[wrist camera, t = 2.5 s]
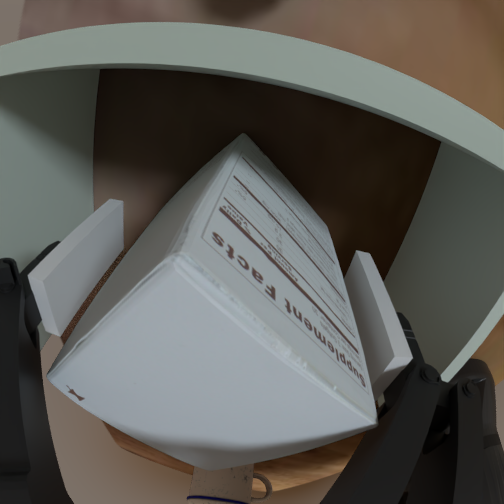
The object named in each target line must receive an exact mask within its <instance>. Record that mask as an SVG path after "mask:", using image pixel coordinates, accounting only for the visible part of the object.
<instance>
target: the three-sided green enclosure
mask: <svg viewBox="0 0 504 504" xmlns="http://www.w3.org/2000/svg"><path fill="white" fill-rule="evenodd" d="M111 68H130V69H159V70H174V71H186V72H196V73H205V74H213V75H220V76H227V77H234V78H240V79H246V80H251V81H257V82H262V83H267V84H272V85H276V86H281V87H285V88H290V89H294V90H298V91H302V92H306V93H310V94H314V95H317V96H321V97H324V98H328V99H331V100H335V101H338V102H341V103H344V104H348V105H351V106H354V107H357V108H360V109H363V110H366V111H369V112H371V113H374V114H377V115H380V116H382V117H385V118H388V119H390V120H393V121H395V122H398V123H400V124H403V125H405V126H408V127H410V128H413V129H415V130H417V131H419V132H422V133H424V134H426V135H428V136H431V137H433V138H435V139H437V140H439V141H441V144H440V148H439V151H438V154H437V157H436V160H435V162H434V165H433V168H432V171H431V174H430V177H429V179H428V182H427V185H426V187H425V190H424V193H423V195H422V198H421V200H420V203H419V205H418V208H417V210H416V213H415V215H414V217H413V220H412V222H411V224H410V227H409V229H408V231H407V234H406V236H405V238H404V240H403V242H402V245H401V247H400V249H399V251H398V253H397V255H396V257H395V260H394V262H393V264H392V266H391V268H390V270H389V272H388V274H387V276H386V278H385V280H384V282H383V283H384V286H385V288H386V290H387V293H388V295H389V297H390V300H391V302H392V305H393V307H394V309H395V312H401V313H402V314H403V315H404V316H405V317H406V319H407V320H408V321H409V323H410V325H411V328H412V332H413V333H414V335H415V339H416V340H417V343H418V345H419V348H420V350H421V353H422V356H423V358H424V361H425V363H426V364H429V365H431V366H433V367H434V368H435V369H436V370H437V371H438V372H439V374H440V376H441V379H442V381H445V382H449V381H450V380H451V379H452V378H453V376H454V375H455V374H456V373H457V372H458V371H459V370H460V369H461V368H462V366H463V365H464V364H465V363H466V362H467V361H468V359H469V358H470V357H471V356H472V355H473V353H474V352H475V351H476V350H477V349H478V347H479V346H480V345H481V344H482V342H483V341H484V340H485V338H486V337H487V336H488V334H489V333H490V332H491V330H492V329H493V328H494V326H495V325H496V324H497V322H498V321H499V319H500V318H501V316H502V315H503V314H504V130H503V129H501V128H500V127H498V126H497V125H496V124H494V123H493V122H491V121H490V120H488V119H487V118H485V117H483V116H482V115H480V114H479V113H477V112H476V111H474V110H472V109H471V108H469V107H467V106H466V105H464V104H462V103H460V102H459V101H457V100H455V99H453V98H452V97H450V96H448V95H446V94H444V93H442V92H440V91H439V90H437V89H435V88H433V87H431V86H429V85H427V84H425V83H423V82H420V81H418V80H416V79H414V78H412V77H410V76H407V75H405V74H403V73H401V72H398V71H396V70H394V69H391V68H389V67H386V66H384V65H381V64H379V63H376V62H373V61H371V60H368V59H365V58H362V57H360V56H357V55H354V54H351V53H348V52H345V51H341V50H338V49H335V48H332V47H328V46H325V45H321V44H318V43H314V42H310V41H306V40H302V39H298V38H293V37H289V36H284V35H280V34H275V33H269V32H264V31H258V30H252V29H245V28H238V27H230V26H221V25H211V24H198V23H177V22H142V23H121V24H109V25H99V26H90V27H83V28H76V29H70V30H64V31H58V32H53V33H48V34H44V35H39V36H35V37H31V38H27V39H23V40H19V41H16V42H12V43H9V44H6V45H2V46H0V259H1V258H12V259H14V260H15V261H16V263H17V267H18V270H19V274H20V273H21V272H22V270H23V269H24V268H25V267H26V266H27V265H28V264H29V263H30V262H31V261H32V260H33V259H35V258H36V257H37V256H38V255H39V254H41V252H42V251H43V250H44V249H45V248H46V247H47V246H48V245H50V244H52V243H54V242H56V241H61V242H62V241H63V240H64V239H65V238H66V237H67V236H68V235H69V234H70V233H71V232H72V231H73V230H75V229H76V228H77V227H78V226H79V225H80V224H81V223H82V222H84V221H85V220H86V219H87V218H88V217H89V216H90V215H92V214H93V213H94V202H93V146H94V125H95V111H96V100H97V91H98V82H99V74H100V69H111ZM37 327H38V330H39V337H40V351H41V350H42V348H43V347H44V345H45V343H46V342H47V340H48V339H49V337H50V336H51V334H52V333H49V332H47V331H45V328H44V325H43V323H42V321H41V322H40V324H39V325H38V326H37ZM377 400H378V405H379V407H380V406H381V405H382V404H383V403H384V402H385V400H384V395H383V394H382V395H381V396H380V397H379V398H378V399H377Z"/></svg>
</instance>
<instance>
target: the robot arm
mask: <svg viewBox="0 0 504 504" xmlns="http://www.w3.org/2000/svg"><path fill="white" fill-rule="evenodd" d="M123 249H124V235H123V201H119V200H114V199H109V200H108V201H107V202H106V203H104V204H103V205H102V206H101V207H100V208H99V209H97V210H96V211H95V212H94V213H93V214H92V215H90V216H89V217H88V218H87V219H86V220H85V221H84V222H82V223H81V224H80V225H79V226H78V227H77V228H76V229H75V230H73V231H72V232H71V233H70V234H69V235H68V236H67V237H66V238H65V239H64V240H63V241H62V242H61V241H56V242H54V243H52V244H50V245H48V246H47V247H46V248H45V249H44V250H43V251H42V252H41V254H39V255H38V256H37V257H36V258H35V259H33V260H32V261H31V262H30V263H29V264H28V265H27V266H26V267H25V268H24V269H23V270H22V272H21V273H20V274H19V270H18V267H17V263H16V261H15V260H14V259H12V258H1V259H0V504H74V503H73V501H72V500H71V498H70V497H69V495H68V493H67V491H66V489H65V486H64V482H63V479H62V476H61V472H60V469H59V465H58V461H57V457H56V453H55V449H54V445H53V441H52V437H51V431H50V426H49V421H48V415H47V409H46V402H45V396H44V388H43V379H42V369H41V357H40V337H39V330H38V327H37V326H38V325H39V324H40V322H41V321H42V323H43V325H44V328H45V331H47V332H49V333H52V334H54V335H57V336H59V337H61V335H62V333H63V332H64V330H65V329H66V327H67V326H68V324H69V323H70V321H71V320H72V318H73V317H74V315H75V314H76V313H77V311H78V310H79V308H80V307H81V305H82V304H83V302H84V301H85V300H86V298H87V297H88V295H89V294H90V293H91V291H92V290H93V289H94V287H95V286H96V284H97V283H98V282H99V280H100V279H101V278H102V276H103V275H104V274H105V272H106V271H107V270H108V268H109V267H110V266H111V264H112V263H113V262H114V261H115V259H116V258H117V257H118V255H119V254H120V253H121V252H122V250H123ZM344 283H345V286H346V290H347V293H348V297H349V301H350V305H351V308H352V312H353V315H354V318H355V322H356V326H357V329H358V333H359V337H360V341H361V345H362V349H363V352H364V356H365V361H366V366H367V370H368V374H369V378H370V383H371V388H372V392H373V397H374V401H376V400H377V399H378V398H379V397H380V396H381V395H382V394H383V395H384V400H385V402H384V403H383V404H382V405H381V406H380V407H378V408H377V410H376V412H377V417H378V423H379V425H378V426H377V427H375V428H373V429H370V430H367V432H366V434H365V435H364V437H363V439H362V441H361V442H360V444H359V446H358V447H357V449H356V451H355V452H354V454H353V455H352V457H351V459H350V460H349V462H348V463H347V465H346V467H345V468H344V470H343V471H342V473H341V474H340V476H339V477H338V479H337V480H336V481H335V483H334V484H333V486H332V487H331V489H330V490H329V491H328V493H327V494H326V496H325V497H324V498H323V500H322V501H321V502H320V504H504V451H503V448H502V445H501V442H500V438H499V435H498V432H497V428H496V399H495V385H494V379H493V377H492V374H491V372H490V370H489V368H488V366H487V364H486V363H485V362H483V361H481V360H478V359H468V361H467V362H466V363H465V364H464V365H463V366H462V368H461V369H460V370H459V371H458V372H457V373H456V374H455V375H454V376H453V378H452V379H451V380H450V381H449V382H445V381H442V379H441V376H440V374H439V372H438V371H437V370H436V369H435V368H434V367H433V366H431V365H429V364H426V363H425V361H424V358H423V356H422V353H421V350H420V348H419V345H418V343H417V340H416V339H415V335H414V333H413V332H412V328H411V325H410V323H409V321H408V320H407V319H406V317H405V316H404V315H403V314H402V313H401V312H395V309H394V307H393V305H392V302H391V300H390V297H389V295H388V293H387V290H386V288H385V286H384V283H383V281H382V279H381V277H380V274H379V272H378V270H377V268H376V265H375V263H374V261H373V259H372V257H371V255H370V253H366V252H362V251H357V250H356V252H355V255H354V257H353V259H352V262H351V264H350V266H349V269H348V271H347V273H346V276H345V278H344Z"/></svg>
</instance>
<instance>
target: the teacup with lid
mask: <svg viewBox="0 0 504 504" xmlns="http://www.w3.org/2000/svg"><path fill="white" fill-rule="evenodd" d="M253 470H254V463H253V464H248V465H242V466H237V467H231V468H225V469H219V470H213V471H208V470H204V469H201V468H199V467H196V466H194V472H193V477H192V482H191V487H190V493H189V496H188V497H187V502H188V503H189V504H250V503H251V502H264V501H266V500H268V499H269V498H270V497H271V494H272V485H271V483H270V481H269V480H268V479H267V478H266V477H265V476H263V475H261V474H258V473H253ZM253 478H257V479H260V480H261V481H262V482H263V483H264V484H265V486H266V490H267V492H266V495H265V497H263V498H252V497H251V491H252V481H253Z"/></svg>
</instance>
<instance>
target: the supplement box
mask: <svg viewBox="0 0 504 504" xmlns="http://www.w3.org/2000/svg"><path fill="white" fill-rule="evenodd" d="M46 377H47V378H48V380H49V381H50V382H51V383H52V384H53V385H54V386H55V387H56V388H58V389H59V390H60V391H61V392H62V393H64V394H65V395H66V396H67V397H69V398H70V399H71V400H73V401H74V402H75V403H77V404H78V405H80V406H81V407H82V408H84V409H86V410H87V411H89V412H90V413H92V414H93V415H95V416H96V417H98V418H100V419H101V420H103V421H105V422H106V423H108V424H110V425H111V426H113V427H115V428H117V429H118V430H120V431H122V432H124V433H126V434H127V435H129V436H131V437H133V438H135V439H137V440H139V441H141V442H143V443H145V444H147V445H149V446H151V447H153V448H155V449H157V450H159V451H161V452H163V453H165V454H168V455H170V456H172V457H174V458H176V459H179V460H181V461H183V462H186V463H188V464H191V465H193V466H196V467H199V468H201V469H204V470H208V471H213V470H219V469H225V468H231V467H237V466H242V465H248V464H253V463H258V462H262V461H267V460H272V459H276V458H280V457H284V456H288V455H292V454H296V453H300V452H303V451H307V450H310V449H314V448H317V447H320V446H324V445H327V444H330V443H333V442H336V441H339V440H342V439H345V438H348V437H351V436H354V435H356V434H359V433H362V432H364V431H367V430H370V429H373V428H375V427H377V426H378V425H379V423H378V417H377V412H376V407H375V401H374V397H373V392H372V388H371V383H370V378H369V374H368V370H367V366H366V361H365V356H364V352H363V349H362V345H361V341H360V337H359V333H358V329H357V326H356V322H355V318H354V315H353V312H352V308H351V305H350V301H349V297H348V293H347V290H346V286H345V283H344V279H343V275H342V272H341V269H340V266H339V262H338V259H337V256H336V252H335V249H334V246H333V242H332V239H331V236H330V233H329V230H328V227H327V225H326V224H325V223H324V222H323V220H322V219H321V218H320V217H319V216H318V215H317V213H316V212H315V211H314V210H313V209H312V207H311V206H310V205H309V204H308V203H307V202H306V200H305V199H304V198H303V197H302V196H301V195H300V193H299V192H298V191H297V190H296V189H295V188H294V186H293V185H292V184H291V183H290V182H289V181H288V180H287V178H286V177H285V176H284V175H283V174H282V173H281V172H280V170H279V169H278V168H277V167H276V166H275V165H274V164H273V163H272V162H271V160H270V159H269V158H268V157H267V156H266V155H265V154H264V153H263V152H262V151H261V149H260V148H259V147H258V146H257V145H256V144H255V143H254V142H253V141H252V140H251V139H250V138H249V137H248V136H247V135H246V134H245V133H242V134H241V135H239V136H238V137H237V138H236V139H235V140H233V141H232V142H231V143H230V144H229V145H227V146H226V147H225V148H224V149H223V150H221V151H220V152H219V153H218V154H217V155H216V156H215V157H213V158H212V159H211V160H210V161H209V162H208V163H207V164H206V165H204V166H203V167H202V168H201V169H200V170H199V171H198V172H197V173H196V174H195V175H194V176H193V177H192V178H191V179H190V180H189V181H188V182H187V183H186V184H185V185H184V186H183V187H182V188H181V189H180V190H179V191H178V192H177V193H176V194H175V195H174V196H173V197H172V198H171V199H170V200H169V201H168V203H167V204H166V205H165V206H164V207H163V208H162V209H161V210H160V211H159V213H158V214H157V215H156V216H155V218H154V219H153V220H152V221H151V223H150V224H149V225H148V226H147V228H146V229H145V230H144V232H143V233H142V234H141V236H140V237H139V238H138V239H137V241H136V242H135V243H134V245H133V246H132V247H131V248H130V250H129V251H128V252H127V254H126V255H125V256H124V258H123V259H122V260H121V262H120V263H119V264H118V266H117V267H116V268H115V270H114V271H113V273H112V274H111V275H110V277H109V278H108V280H107V281H106V282H105V284H104V285H103V287H102V288H101V289H100V291H99V292H98V294H97V295H96V297H95V298H94V299H93V301H92V302H91V304H90V305H89V307H88V308H87V310H86V311H85V313H84V314H83V316H82V317H81V319H80V321H79V322H78V324H77V325H76V327H75V328H74V330H73V331H72V333H71V335H70V336H69V338H68V339H67V341H66V343H65V344H64V346H63V348H62V349H61V351H60V353H59V354H58V356H57V358H56V359H55V361H54V363H53V364H52V366H51V368H50V370H49V371H48V373H47V376H46Z"/></svg>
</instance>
